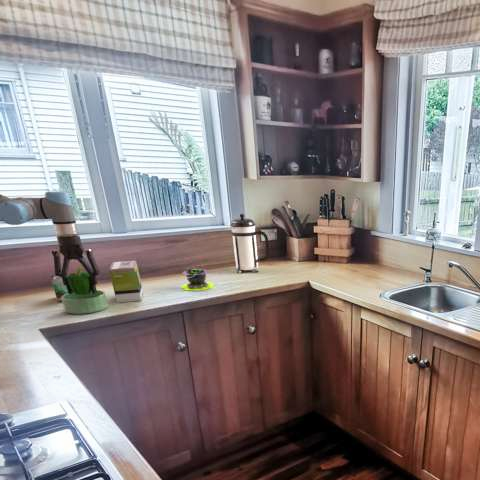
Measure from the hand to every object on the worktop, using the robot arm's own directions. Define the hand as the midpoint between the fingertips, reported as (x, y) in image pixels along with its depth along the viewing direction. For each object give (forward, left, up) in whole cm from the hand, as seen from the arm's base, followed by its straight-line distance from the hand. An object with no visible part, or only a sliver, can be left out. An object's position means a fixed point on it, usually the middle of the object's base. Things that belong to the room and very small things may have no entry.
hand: (82, 292), depth 187 cm
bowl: (0, 0, -7) cm, 7 cm away
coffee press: (+60, +65, -7) cm, 89 cm away
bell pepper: (0, 0, 0) cm, 1 cm away
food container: (-15, +17, -7) cm, 24 cm away
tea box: (+12, +16, -7) cm, 21 cm away
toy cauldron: (+38, +32, -7) cm, 50 cm away
